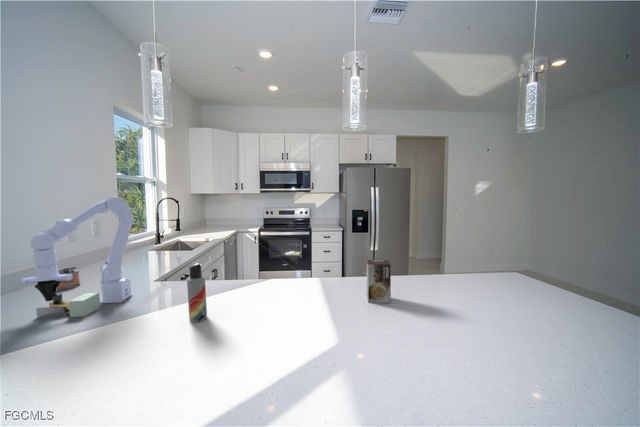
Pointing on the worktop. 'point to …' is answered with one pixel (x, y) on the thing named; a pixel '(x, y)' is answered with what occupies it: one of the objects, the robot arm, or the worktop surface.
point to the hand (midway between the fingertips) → (50, 300)
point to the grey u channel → (51, 311)
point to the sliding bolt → (59, 301)
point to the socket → (84, 304)
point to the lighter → (70, 283)
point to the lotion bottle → (196, 294)
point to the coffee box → (378, 281)
